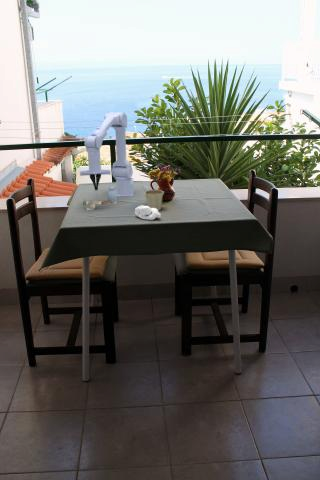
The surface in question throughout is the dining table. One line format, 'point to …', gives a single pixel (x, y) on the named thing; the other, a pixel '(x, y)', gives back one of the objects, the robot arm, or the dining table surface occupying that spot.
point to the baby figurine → (147, 212)
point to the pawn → (112, 195)
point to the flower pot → (154, 198)
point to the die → (90, 205)
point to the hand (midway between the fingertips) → (96, 189)
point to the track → (98, 202)
